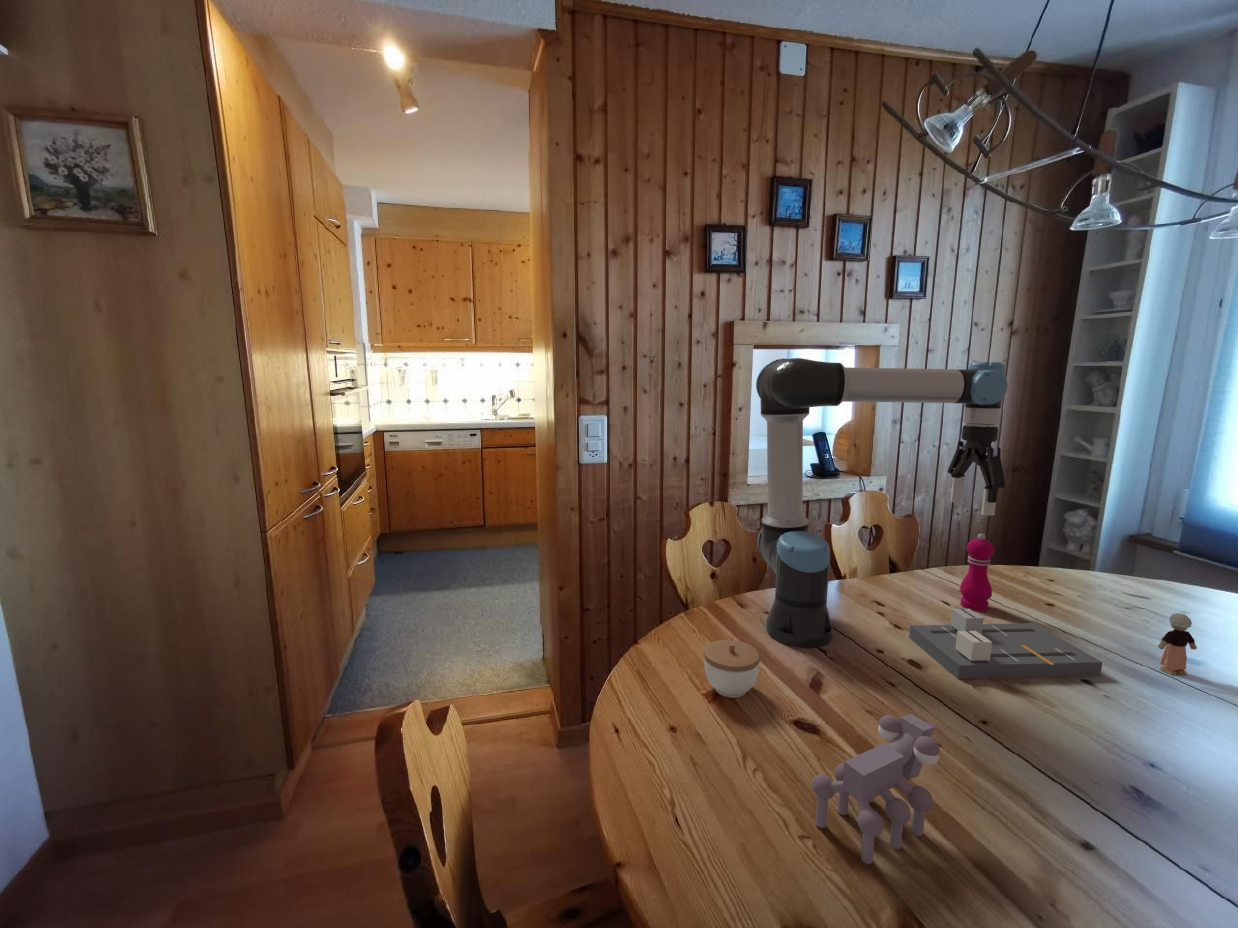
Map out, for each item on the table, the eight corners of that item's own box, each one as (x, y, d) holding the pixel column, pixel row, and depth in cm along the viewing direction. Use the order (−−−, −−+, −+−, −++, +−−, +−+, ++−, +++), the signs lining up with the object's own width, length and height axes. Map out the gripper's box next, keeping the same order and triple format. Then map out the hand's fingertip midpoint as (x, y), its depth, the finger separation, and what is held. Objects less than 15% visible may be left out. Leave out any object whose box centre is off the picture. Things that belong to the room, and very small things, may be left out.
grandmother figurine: (1173, 664, 119) (1183, 608, 117) (1195, 673, 115) (1206, 616, 113) (1146, 669, 117) (1156, 612, 115) (1168, 678, 114) (1178, 620, 112)
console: (959, 680, 113) (961, 666, 113) (909, 637, 131) (910, 625, 131) (1102, 676, 114) (1104, 662, 114) (1032, 634, 132) (1034, 622, 132)
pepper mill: (962, 610, 146) (970, 536, 143) (954, 599, 153) (962, 528, 150) (994, 613, 144) (1002, 538, 141) (985, 602, 151) (993, 531, 148)
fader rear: (964, 635, 125) (966, 617, 125) (950, 625, 130) (952, 608, 129) (981, 634, 125) (983, 617, 125) (967, 624, 130) (969, 607, 130)
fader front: (970, 660, 114) (973, 641, 113) (955, 648, 119) (957, 630, 118) (990, 660, 114) (992, 641, 114) (973, 648, 119) (975, 630, 118)
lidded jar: (712, 669, 117) (713, 627, 116) (763, 682, 113) (765, 638, 111) (695, 696, 108) (696, 650, 106) (751, 710, 103) (753, 663, 102)
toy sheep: (896, 769, 88) (908, 692, 85) (964, 820, 78) (980, 735, 76) (803, 816, 78) (812, 731, 76) (867, 879, 69) (880, 785, 66)
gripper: (1030, 430, 127) (1019, 521, 130) (966, 420, 151) (958, 497, 155) (997, 430, 127) (986, 520, 130) (938, 420, 151) (930, 497, 155)
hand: (971, 508), depth 143 cm, fingers open, 13 cm apart
